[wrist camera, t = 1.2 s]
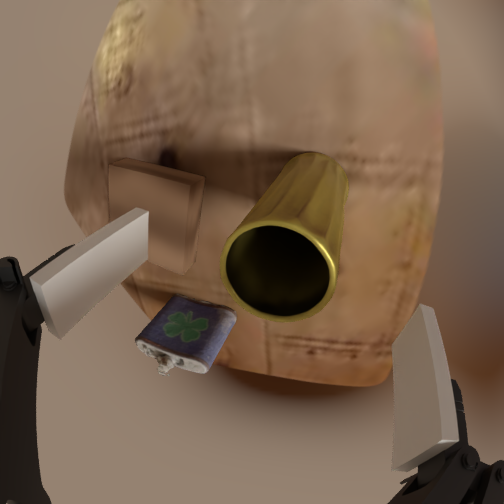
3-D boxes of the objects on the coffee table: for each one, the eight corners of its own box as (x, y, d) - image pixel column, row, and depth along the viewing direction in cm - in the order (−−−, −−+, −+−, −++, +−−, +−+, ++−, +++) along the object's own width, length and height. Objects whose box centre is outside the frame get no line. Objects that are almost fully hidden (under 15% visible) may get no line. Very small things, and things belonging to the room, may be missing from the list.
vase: (276, 212, 26) (210, 313, 14) (282, 147, 23) (207, 197, 11) (341, 225, 25) (329, 341, 13) (353, 158, 22) (363, 225, 10)
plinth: (126, 157, 28) (108, 164, 26) (205, 176, 27) (190, 185, 24) (126, 234, 34) (111, 245, 31) (195, 261, 32) (182, 275, 29)
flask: (238, 308, 33) (199, 377, 25) (238, 325, 35) (202, 393, 26) (170, 290, 36) (122, 346, 27) (173, 307, 37) (129, 363, 28)
